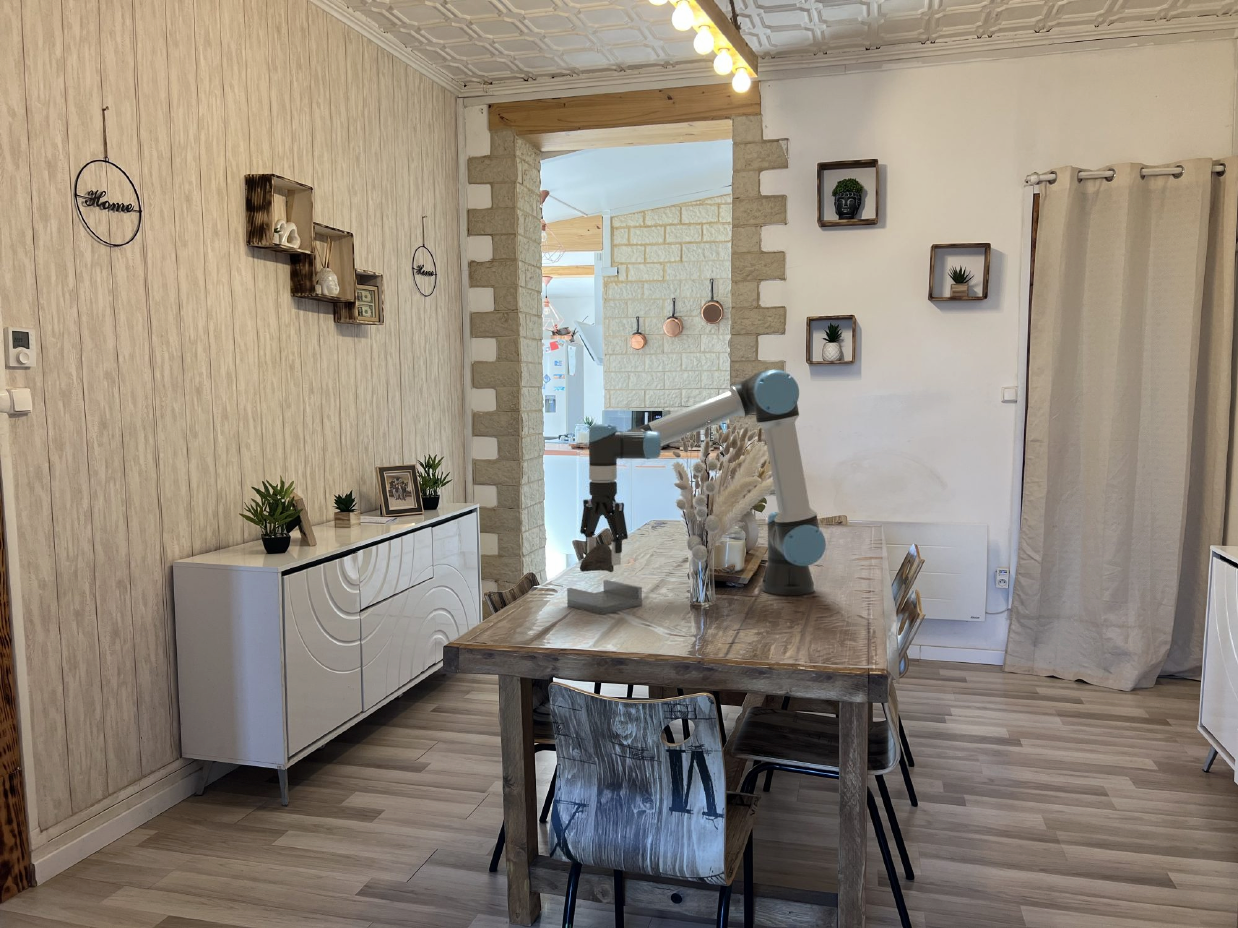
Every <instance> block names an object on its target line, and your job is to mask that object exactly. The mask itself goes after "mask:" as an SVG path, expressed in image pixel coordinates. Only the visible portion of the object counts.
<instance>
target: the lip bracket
mask: <svg viewBox="0 0 1238 928" xmlns="http://www.w3.org/2000/svg"><path fill="white" fill-rule="evenodd" d="M642 589H643V588H642V586H638V585H633V584H629V583H625V582H619V581H615V580H609V579H604V580H603V590H601V591H596V592H592V591H588V590H582V589H577V588H573V587H568V588H566V592H567V593H566V594H567V595H566V596H567V597H566V598H567V599H566V602H567V607H569V608H573V609H576V610H581V611H585V612H588V613H589V612H590V613H593V614H596V615H597V614H598V615H601V616H604V615H607V614H612V613H615V612H620V611H623V610H627V609H630V608H635V607H639V606H642V605H643V595H642V593H643V591H642Z"/></svg>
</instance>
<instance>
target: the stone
mask: <svg viewBox="0 0 1238 928" xmlns="http://www.w3.org/2000/svg"><path fill="white" fill-rule="evenodd" d="M614 570H615V569H614V566H612V548H611V546H609V545H608V544H606V543H601V544H598V545H597V544H596V547H594V548H593V549H592V550H591V551H590V552H589V553H588V554H587V553H586V555H584V557H583V559H582V561H581V563H580V565H579V571H580V572H583V573H584V572H594V571H595V572H597V571H598V572H599V571H601V572H604V571H605V572H609V573H613V572H614Z"/></svg>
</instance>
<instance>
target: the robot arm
mask: <svg viewBox="0 0 1238 928" xmlns="http://www.w3.org/2000/svg"><path fill="white" fill-rule="evenodd" d="M799 397H800V388H799V384H798V382H797V380H796V379H795V378H794V376H792V375H791V374H790V373H787V372H786V371H784V370H782V369H770V370H762V371H758V372H756V373H754V374H752V375H751V376H749V377H747V378H746V379H743V380H742V381H740V382H738V383H736V384H733V385H731V386H730V388H729V389H728V390H727V391H725V392H722V393H719V394H717V395H714V396H713V397H710V398H707V399H704V400H702V401H700V402H698V403H695V404H692V405H690V406H688V407H685V408H683V409H680V410H677V411H674V412H672V413H670V414H667V415H664V416H662V417H660V418H657V419H654V420H652V421H650V422H647V423H646V424H643V425H640V426H637V427H633V428H630V429H628V430H627V431H621V430H618V429H617V428H618V427H617V425H616V424H613V423H595V424H591V426H590V427H589V431H588V436H589V437H588V458H589V459H588V461H589V463H588V464H589V465H588V467H589V468H588V475H589V476H588V480H590V481H589V484H588V485H589V486H588V487H589V490H588V491H589V495H590V496H591V498H587V499H583V500H582V502H583V503H582V505H583V511H582V517H581V522H580V523H581V525H580V530H579V533H580V534H581V535H584V537H585V547H586V555H587V554H588V553H589V552H590V551H591V550H592V549H593V548H594V547H596V546H597V536H596V529H597V527H598V524H599V521H600V518H601V517H602V516H603V518H604V519H606V521H607V524H608V527H609V530H610V533H611V536H612V539H613V540H611V546H610V548H611V550H612V566H619V565H622V564H621V560H622V559H621V558H622V556H621V555H622V553H623V541H624V540H628V538H629V536H628V529H627V523H626V517H625V511H624V510H625V503H624V502H617V500H616V495H617V494H618V483H617V481H616V480H617V477H618V474H617V472H618V468H617V465H618V464H617V460H618V459H619V460H623V459H628V460H629V459H631V460H634V459H635V460H636V459H637V460H639V459H641V460H642V459H643V460H644V459H645V460H650V459H658V458H659V457H660V456H661V453H662V446H665V445H667V444H669V443H673V442H675V441H678V440H680V439H682V438H685V437H687V436H690V435H693V434H695V433H698V432H701V431H703V430H704V429H705V430H706V429H708V428H710V427H712V426H715V425H718V424H720V423H722V422H725V421H727V420H731V419H733V418H735V417H737V416H739V417H742V418H744V417H747V416H750V415H752V414H754V415H755V419H756V424H757V425H759V426H760V427H762V428H763V433H764V439H765V444H766V449H767V455H768V460H769V467H770V472H771V477H772V481H773V483H772V484H773V488H774V493H775V495H774V496H775V500H776V505H777V511H778V512H771V513H769V514H768V517H767V523H766V525H767V564H766V567H765V571H764V574H763V578H762V579H761V590H762V591H763V592H765V593H767V594H773V595H779V596H802V595H803V596H804V595H809V594H812V593H813V592H814V591H815V582H814V579H813V576H812V572H811V570H810V569H811V568H810V567H809V566H811V565H814V564H815V563H817V562H818V561H820V560H821V558H822V556H823V555H824V554H825V551H826V545H827V543H826V538H825V535H824V533H823V532H822V530H821V529H820V527H819V520H818V513H817V512H816V511H815V510H814V509H812V508H811V506H810V503H809V502H810V501H809V496H808V490H807V485H806V478H805V473H804V466H803V461H802V456H801V455H802V454H801V450H800V444H799V439H798V433H797V428H796V421H797V419H798V418H799V417H800V411H799V407H798V406H799V405H798V401H799ZM708 421H710V422H708ZM706 423H707V424H708V425H706ZM709 425H710V426H709ZM707 427H708V428H707ZM689 432H694V433H689ZM687 433H689V434H687Z"/></svg>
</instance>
